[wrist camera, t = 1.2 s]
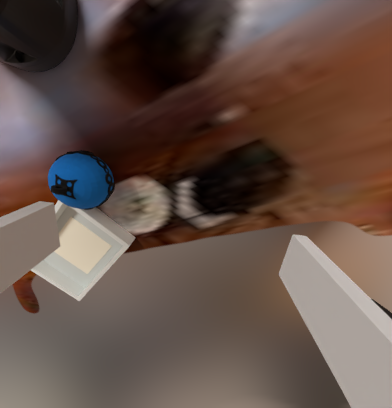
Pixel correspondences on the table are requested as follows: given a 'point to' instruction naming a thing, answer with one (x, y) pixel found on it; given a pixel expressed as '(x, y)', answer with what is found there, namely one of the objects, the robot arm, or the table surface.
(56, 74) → the table surface
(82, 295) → the bin
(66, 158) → the ornament
